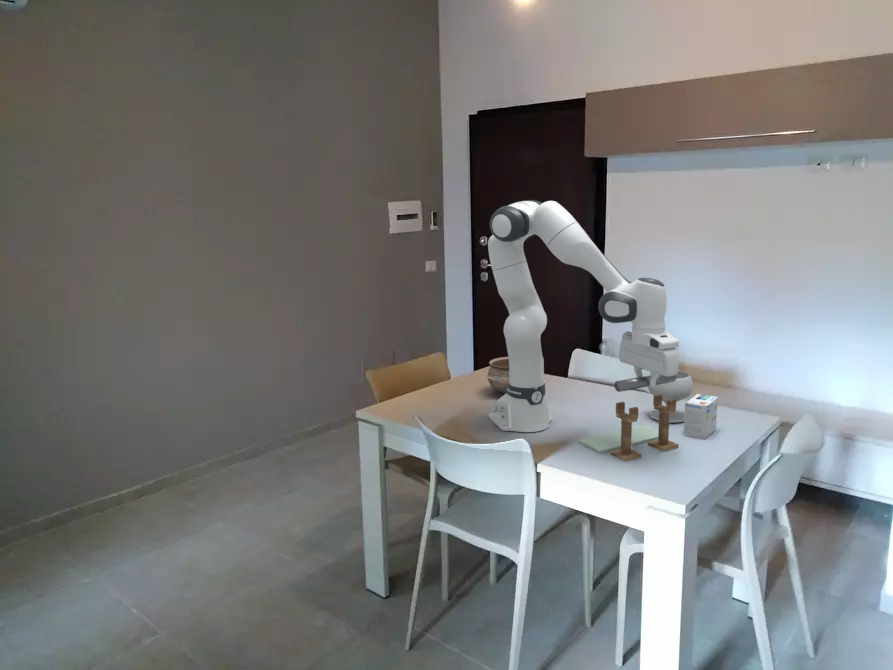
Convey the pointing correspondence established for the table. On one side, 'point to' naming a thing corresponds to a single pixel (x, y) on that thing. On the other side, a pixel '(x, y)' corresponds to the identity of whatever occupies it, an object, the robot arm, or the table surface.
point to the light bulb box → (700, 416)
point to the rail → (641, 382)
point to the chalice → (673, 394)
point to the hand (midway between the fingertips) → (645, 384)
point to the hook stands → (627, 420)
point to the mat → (614, 439)
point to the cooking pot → (499, 374)
